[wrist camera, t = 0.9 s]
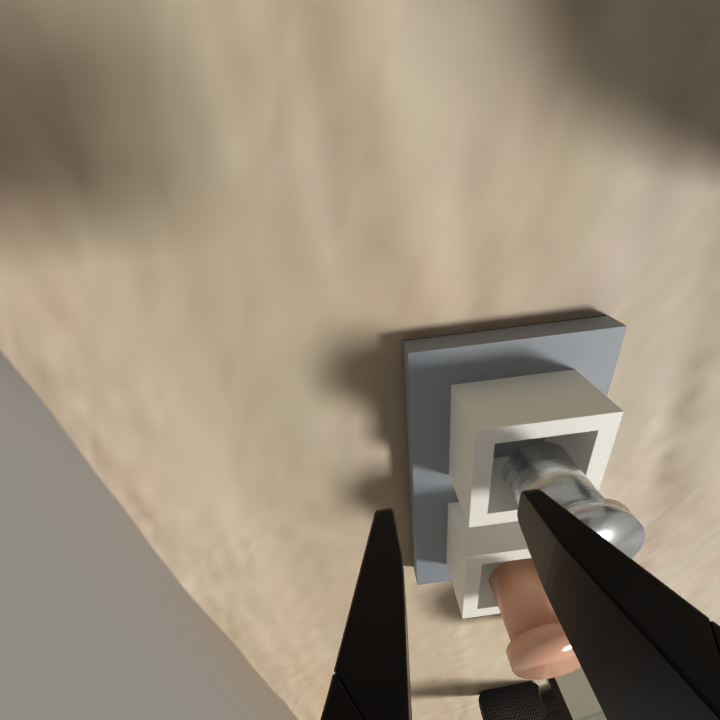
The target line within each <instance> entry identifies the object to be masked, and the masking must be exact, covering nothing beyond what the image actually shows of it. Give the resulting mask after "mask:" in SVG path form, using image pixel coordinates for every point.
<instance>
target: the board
mask: <svg viewBox="0 0 720 720" xmlns="http://www.w3.org/2000/svg"><path fill="white" fill-rule="evenodd" d="M625 330H626V325H624V324H622V323H620V322H619V321H617V320H615V319H614V318H612V317H610V316H601V317H593V318H585V319H576V320H568V321H560V322H552V323H544V324H536V325H528V326H520V327H512V328H504V329H496V330H488V331H480V332H472V333H464V334H456V335H448V336H440V337H432V338H424V339H416V340H408V341H403V348H404V369H405V391H406V412H407V433H408V455H409V476H410V497H411V519H412V540H413V561H414V571H415V576H416V580H417V585H421V584H428V583H435V582H443V581H450V580H451V581H452V585H453V588H454V592H455V595H456V598H457V602H458V605H459V609H460V612H461V616H462V619H464V618H471V617H478V616H485V615H492V614H500V611H499V608H498V605H497V603H496V600H495V597H494V595H493V592H492V590H491V587H490V584H489V581H488V580H489V576H490V574H491V572H492V571H493V570H494V569H495V568H497V567H498V566H500V565H501V564H503V563H506V562H508V561H512V560H520V559H531V560H532V557H531V555H530V553H529V551H528V546H527V544H526V541H525V538H524V536H523V533H522V530H521V528H520V525H519V522H518V517H517V511H518V507H517V505H516V504H515V502H514V500H513V498H512V496H511V494H510V492H509V490H508V489H507V487H506V485H505V483H504V481H503V479H502V469H503V466H504V464H505V462H506V461H507V460H508V458H509V457H510V456H511V455H513V454H514V453H515V452H516V451H518V450H519V449H521V448H523V447H525V446H528V445H530V444H534V443H539V442H551V443H555V444H558V445H560V446H562V447H563V448H564V449H565V450H566V452H567V453H568V454H569V455H570V457H571V458H572V459H573V460H574V462H575V463H576V464H577V465H578V467H579V468H580V469H581V470H582V472H583V473H584V474H585V475H586V477H587V478H588V479H589V480H590V482H591V483H592V484H593V485H594V487H595V488H596V489H597V490H598V491H599V488H600V485H601V482H602V478H603V475H604V472H605V469H606V466H607V463H608V459H609V456H610V453H611V450H612V447H613V444H614V440H615V437H616V434H617V431H618V428H619V425H620V421H621V418H622V415H623V412H624V411H622V410H621V409H620V408H619V407H618V406H617V405H616V404H614V403H613V402H612V401H611V400H610V399H609V398H608V397H607V394H608V391H609V387H610V383H611V380H612V376H613V373H614V369H615V366H616V362H617V359H618V355H619V351H620V348H621V344H622V341H623V337H624V334H625Z"/></svg>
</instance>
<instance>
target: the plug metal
mask: <svg viewBox="0 0 720 720" xmlns="http://www.w3.org/2000/svg"><path fill="white" fill-rule="evenodd" d="M502 479H503V481H504V483H505V485H506V487H507V489H508V490H509V492H510V494H511V496H512V498H513V500H514V502H515V504H516V505H517V507H518V505H519V499H520V494H521V492H522V491H524V490H530V489H539V490H542V491H543V492H544V493H546V494H547V495H548V496H550V497H551V498H552V499H554V500H555V501H556V502H557V503H559V504H560V505H561V506H563V507H564V508H565V509H567V510H568V511H569V512H571V513H572V514H573V515H575V516H576V517H577V518H578V519H580V520H581V521H582V522H584V523H585V524H586V525H588V526H589V527H590V528H592V529H593V530H594V531H595V532H597V533H598V534H599V535H601V536H602V537H603V538H605V539H606V540H607V541H609V542H610V543H611V544H613V545H614V546H615V547H616V548H618V549H619V550H620V551H622V552H623V553H624V554H626V555H627V556H628V557H630V558H631V559H632V558H633V557H634V556H635V555H636V554H637V552H638V551H639V550H640V548H641V547H642V545H643V542H644V539H645V531H644V528H643V526H642V525H641V523H640V522H639V521H638V520H637V519H636V518H635V516H634V515H633V514H632V513H631V512H630V511H629V509H628V508H627V507H626V506H625V505H623V504H622V503H620V502H618V501H615V500H611V499H604V498H603V496H602V495H601V494H600V493H599V491H598V490H597V489H596V488H595V487H594V485H593V484H592V483H591V482H590V480H589V479H588V478H587V477H586V475H585V474H584V473H583V472H582V470H581V469H580V468H579V467H578V465H577V464H576V463H575V462H574V460H573V459H572V458H571V457H570V455H569V454H568V453H567V452H566V450H565V449H564V448H563V447H562V446H560V445H558V444H555V443H551V442H539V443H534V444H530V445H528V446H525V447H523V448H521V449H519V450H518V451H516V452H515V453H514V454H513V455H511V456H510V457H509V458H508V460H507V461H506V462H505V464H504V466H503V469H502ZM528 551H529V549H528ZM529 553H530V552H529Z"/></svg>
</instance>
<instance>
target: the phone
mask: <svg viewBox="0 0 720 720" xmlns="http://www.w3.org/2000/svg"><path fill="white" fill-rule="evenodd" d="M479 706H480V710H481V714H482V717H483V720H548V718H547V716H546V713H545V711H544V708H543V705H542V702H541V699H540V695H539V686H538V685H537V684H535V683H533V682H526V683H521V684H516V685H511V686H506V687H501V688H496V689H491V690H486V691H483V692H482V693H481V694H480V696H479Z"/></svg>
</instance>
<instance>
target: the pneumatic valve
mask: <svg viewBox="0 0 720 720" xmlns="http://www.w3.org/2000/svg"><path fill="white" fill-rule="evenodd" d="M546 681H547V684H544V685H541V686H539V695H540V699H541V702H542V705H543V708H544V711H545V713H546V716H547V718H548V720H607V719H606V717H605V715H604V713H603V711H602V709H601V707H600V704H599V702H598V700H597V698H596V696H595V694H594V692H593V690H592V688H591V686H590V684H589V682H588V680H587V678H586V676H585V674H584V672H583V670H582V668H581V667H580V668H578V669H576V670H574V671H572V672H570V673H567V674H565V675H561V676H558V677H554V678H548V679H546Z"/></svg>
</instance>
